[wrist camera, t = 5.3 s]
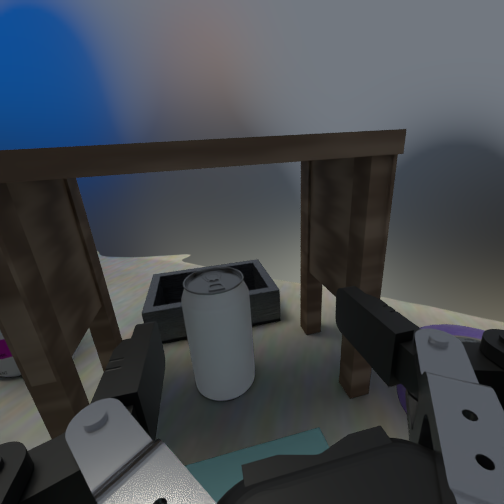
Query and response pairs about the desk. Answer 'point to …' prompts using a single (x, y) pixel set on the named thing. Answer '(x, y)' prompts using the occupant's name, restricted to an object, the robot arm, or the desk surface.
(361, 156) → the small wooden table
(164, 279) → the box
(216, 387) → the can
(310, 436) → the pad
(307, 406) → the desk surface
